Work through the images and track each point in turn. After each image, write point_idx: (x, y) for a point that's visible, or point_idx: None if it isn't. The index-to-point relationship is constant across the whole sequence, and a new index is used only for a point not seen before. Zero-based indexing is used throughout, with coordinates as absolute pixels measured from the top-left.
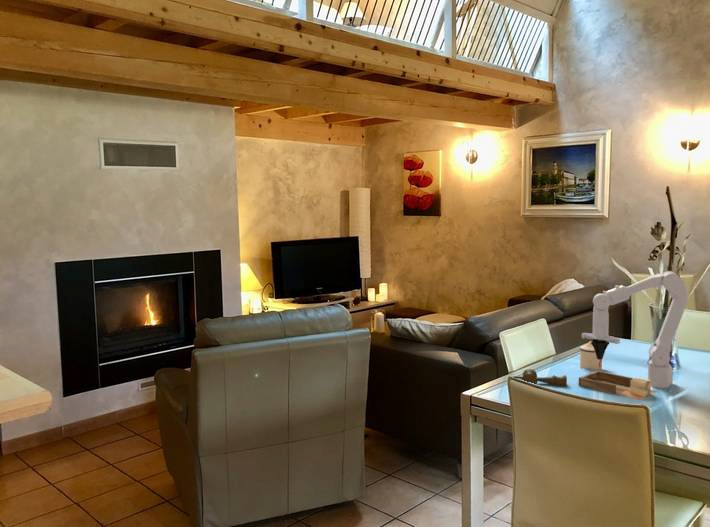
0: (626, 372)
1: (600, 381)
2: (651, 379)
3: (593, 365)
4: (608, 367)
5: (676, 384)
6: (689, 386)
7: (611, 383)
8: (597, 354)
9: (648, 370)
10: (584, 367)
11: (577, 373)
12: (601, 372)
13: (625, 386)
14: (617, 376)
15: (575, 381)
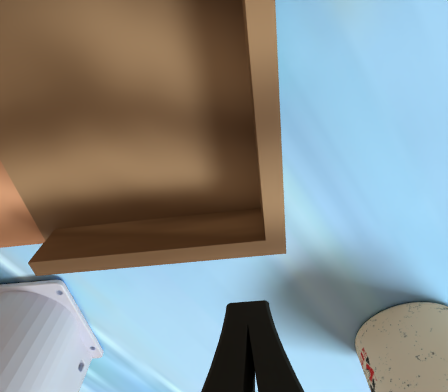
0: None
1: (218, 175)
2: (2, 326)
3: (390, 341)
4: (350, 382)
5: None
6: None
7: (150, 191)
8: (259, 350)
9: (8, 378)
10: (432, 313)
11: (435, 236)
12: (241, 241)
13: (64, 203)
14: (124, 249)
15: (372, 80)
